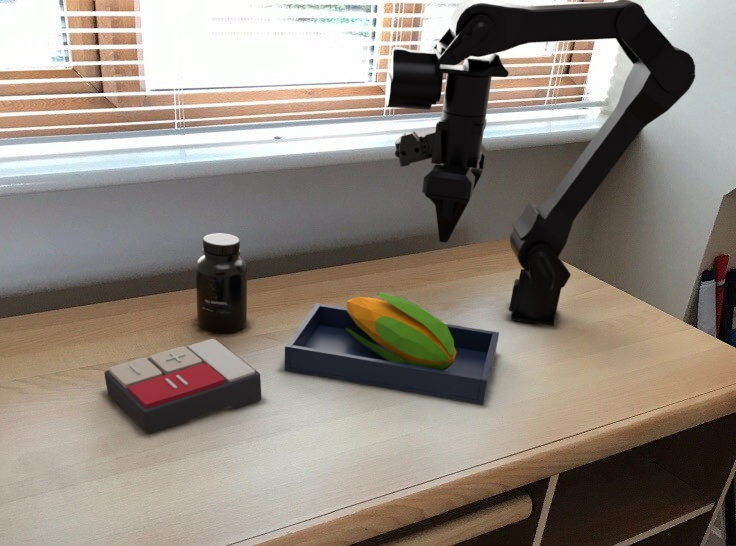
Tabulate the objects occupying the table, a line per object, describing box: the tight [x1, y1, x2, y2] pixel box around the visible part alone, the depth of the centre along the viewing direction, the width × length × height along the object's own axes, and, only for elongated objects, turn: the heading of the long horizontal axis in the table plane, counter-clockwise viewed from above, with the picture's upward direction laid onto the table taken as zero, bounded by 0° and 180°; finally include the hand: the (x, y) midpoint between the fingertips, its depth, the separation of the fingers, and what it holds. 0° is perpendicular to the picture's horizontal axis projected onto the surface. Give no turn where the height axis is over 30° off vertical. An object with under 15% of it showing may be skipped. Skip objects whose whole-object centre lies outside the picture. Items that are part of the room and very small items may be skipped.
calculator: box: [103, 338, 262, 434], centre depth 100 cm, size 11×4×15 cm
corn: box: [346, 291, 457, 370], centre depth 110 cm, size 7×8×20 cm
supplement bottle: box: [195, 233, 248, 334], centre depth 115 cm, size 7×7×12 cm
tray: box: [283, 302, 500, 406], centre depth 111 cm, size 26×15×3 cm, turn 76°
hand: (448, 231), depth 120 cm, fingers open, 9 cm apart
